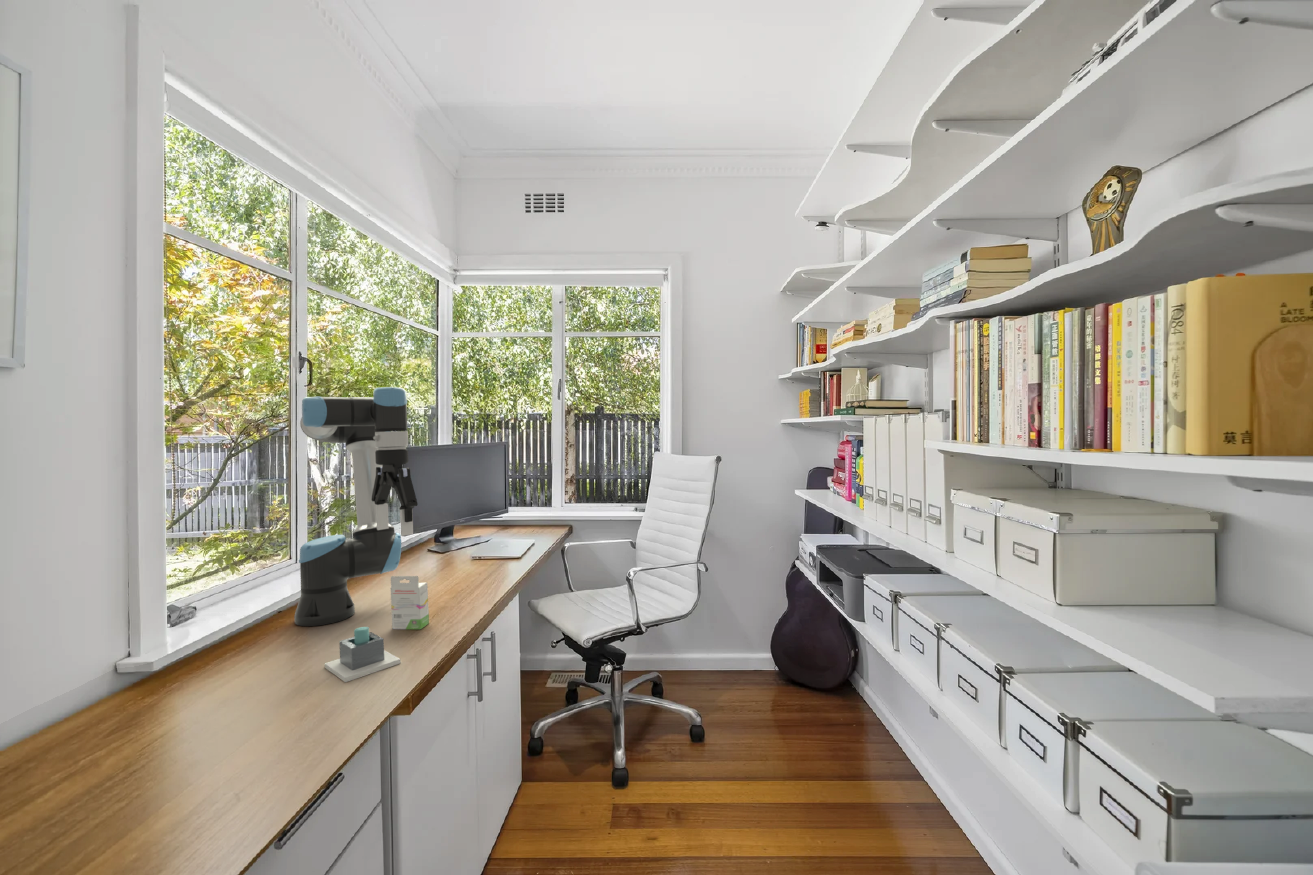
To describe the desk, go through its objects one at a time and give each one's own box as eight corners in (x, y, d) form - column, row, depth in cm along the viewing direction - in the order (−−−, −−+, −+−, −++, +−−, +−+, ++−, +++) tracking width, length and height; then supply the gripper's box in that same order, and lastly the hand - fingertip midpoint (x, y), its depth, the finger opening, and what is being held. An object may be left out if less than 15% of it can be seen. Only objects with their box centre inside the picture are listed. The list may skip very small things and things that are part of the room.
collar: (340, 662, 127) (339, 640, 127) (371, 652, 133) (370, 631, 132) (352, 670, 123) (351, 648, 123) (384, 659, 128) (383, 638, 128)
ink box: (430, 623, 155) (428, 571, 154) (420, 629, 150) (419, 576, 149) (401, 622, 155) (399, 571, 155) (390, 629, 150) (389, 575, 150)
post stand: (324, 667, 127) (323, 631, 127) (378, 650, 136) (377, 616, 136) (345, 682, 119) (343, 643, 119) (400, 663, 128) (399, 627, 128)
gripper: (355, 448, 144) (358, 529, 144) (399, 449, 128) (402, 540, 128) (385, 447, 150) (387, 524, 150) (430, 448, 134) (433, 534, 134)
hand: (394, 532), depth 139 cm, fingers open, 13 cm apart
